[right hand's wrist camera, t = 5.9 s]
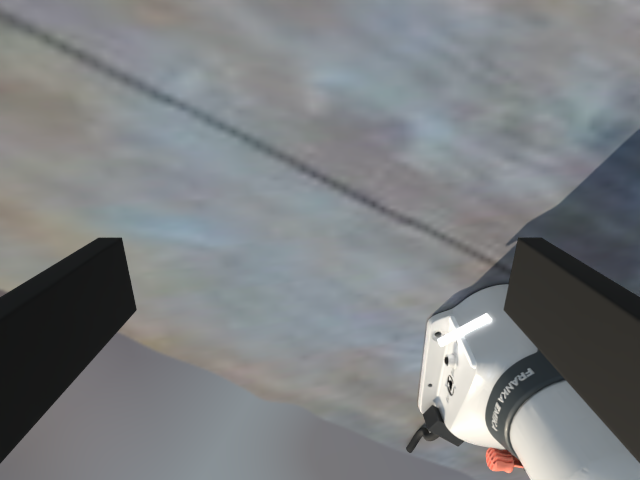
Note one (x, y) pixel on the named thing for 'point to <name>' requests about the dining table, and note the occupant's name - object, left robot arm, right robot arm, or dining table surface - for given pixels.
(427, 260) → the dining table surface
